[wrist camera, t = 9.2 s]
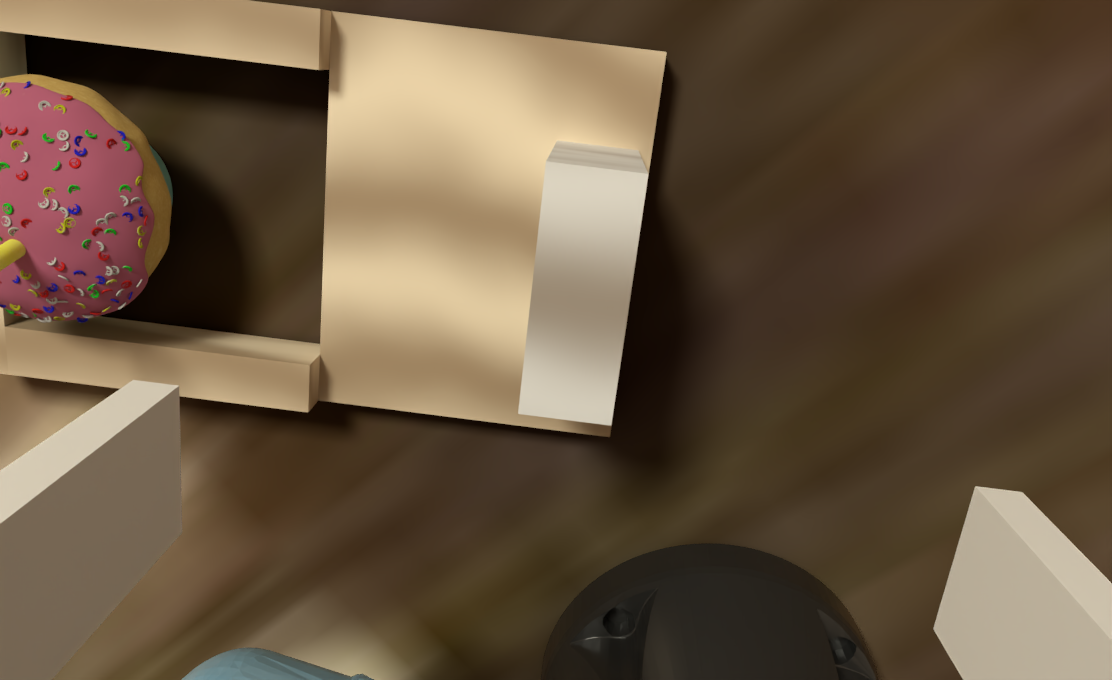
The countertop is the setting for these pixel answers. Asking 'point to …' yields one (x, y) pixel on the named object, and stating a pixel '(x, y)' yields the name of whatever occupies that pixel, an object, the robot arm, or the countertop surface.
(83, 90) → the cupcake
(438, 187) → the wooden tray
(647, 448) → the countertop surface
